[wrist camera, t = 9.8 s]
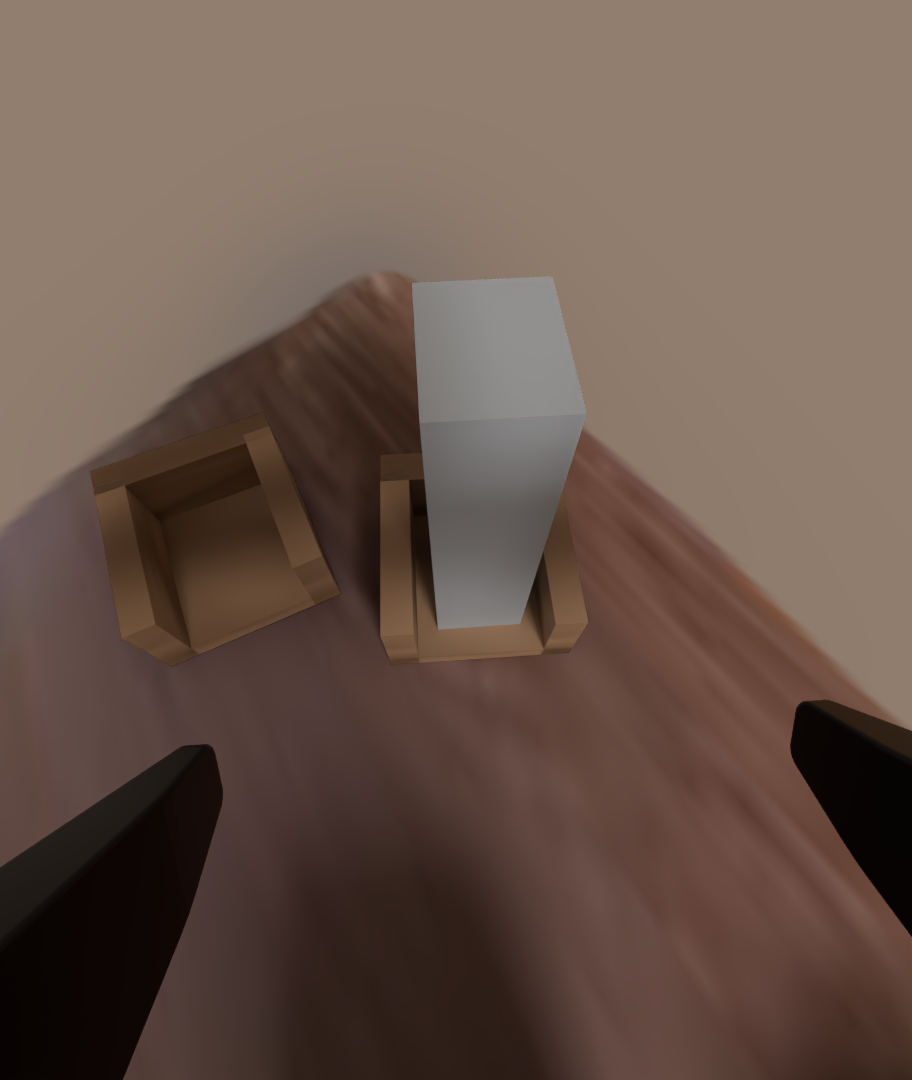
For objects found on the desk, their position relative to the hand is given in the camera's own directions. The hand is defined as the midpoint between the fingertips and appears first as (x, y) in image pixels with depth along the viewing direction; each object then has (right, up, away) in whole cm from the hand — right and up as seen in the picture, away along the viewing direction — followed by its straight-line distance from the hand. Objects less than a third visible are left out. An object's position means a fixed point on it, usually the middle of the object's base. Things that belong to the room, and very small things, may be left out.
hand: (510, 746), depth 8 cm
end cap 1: (-11, +2, +17) cm, 20 cm away
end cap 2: (0, +1, +16) cm, 16 cm away
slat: (0, +1, +15) cm, 15 cm away
